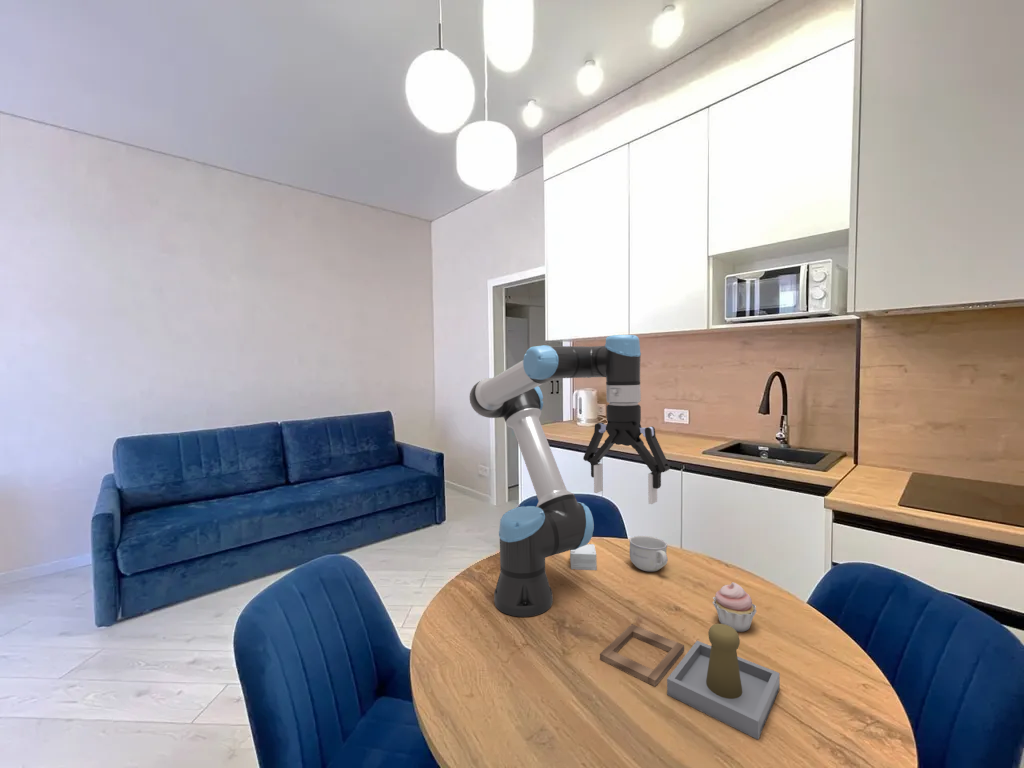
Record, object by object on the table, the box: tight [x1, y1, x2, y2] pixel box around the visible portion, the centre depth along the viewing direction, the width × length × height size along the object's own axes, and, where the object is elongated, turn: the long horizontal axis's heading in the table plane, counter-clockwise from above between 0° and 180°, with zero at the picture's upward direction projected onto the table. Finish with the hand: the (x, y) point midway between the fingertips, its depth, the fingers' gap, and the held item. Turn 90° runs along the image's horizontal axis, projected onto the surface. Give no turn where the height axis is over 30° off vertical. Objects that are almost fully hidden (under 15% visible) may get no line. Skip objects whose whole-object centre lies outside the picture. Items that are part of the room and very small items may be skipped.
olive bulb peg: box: [706, 623, 742, 699], centre depth 81 cm, size 6×6×11 cm
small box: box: [569, 543, 598, 571], centre depth 135 cm, size 8×8×5 cm
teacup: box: [628, 535, 668, 573], centre depth 131 cm, size 14×11×8 cm
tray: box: [666, 640, 781, 740], centre depth 81 cm, size 15×15×3 cm
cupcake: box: [712, 581, 757, 633], centre depth 102 cm, size 9×9×10 cm
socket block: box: [599, 623, 685, 687], centre depth 92 cm, size 12×14×1 cm
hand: (624, 497), depth 100 cm, fingers open, 13 cm apart
